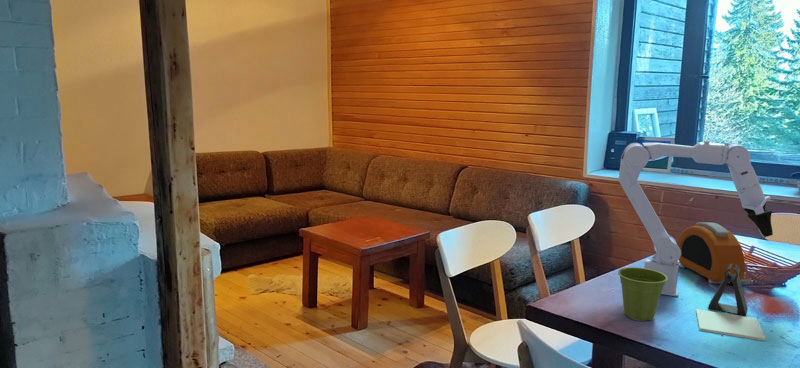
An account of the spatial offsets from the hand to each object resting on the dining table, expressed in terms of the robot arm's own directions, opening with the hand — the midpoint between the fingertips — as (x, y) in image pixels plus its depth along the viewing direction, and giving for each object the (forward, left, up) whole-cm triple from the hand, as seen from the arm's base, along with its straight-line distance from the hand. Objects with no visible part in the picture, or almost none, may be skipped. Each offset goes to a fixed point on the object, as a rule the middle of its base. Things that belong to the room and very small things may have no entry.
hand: (765, 232), depth 164 cm
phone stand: (-8, -10, -20) cm, 24 cm away
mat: (-9, -22, -20) cm, 31 cm away
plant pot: (-30, -26, -20) cm, 45 cm away
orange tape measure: (-11, +21, -20) cm, 31 cm away
